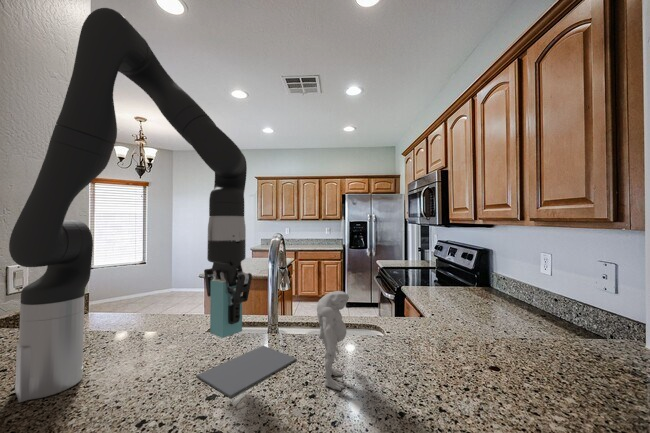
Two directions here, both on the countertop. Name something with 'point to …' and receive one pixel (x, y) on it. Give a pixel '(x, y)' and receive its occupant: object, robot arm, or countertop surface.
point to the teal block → (222, 311)
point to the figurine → (332, 331)
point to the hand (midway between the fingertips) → (226, 320)
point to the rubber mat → (245, 370)
